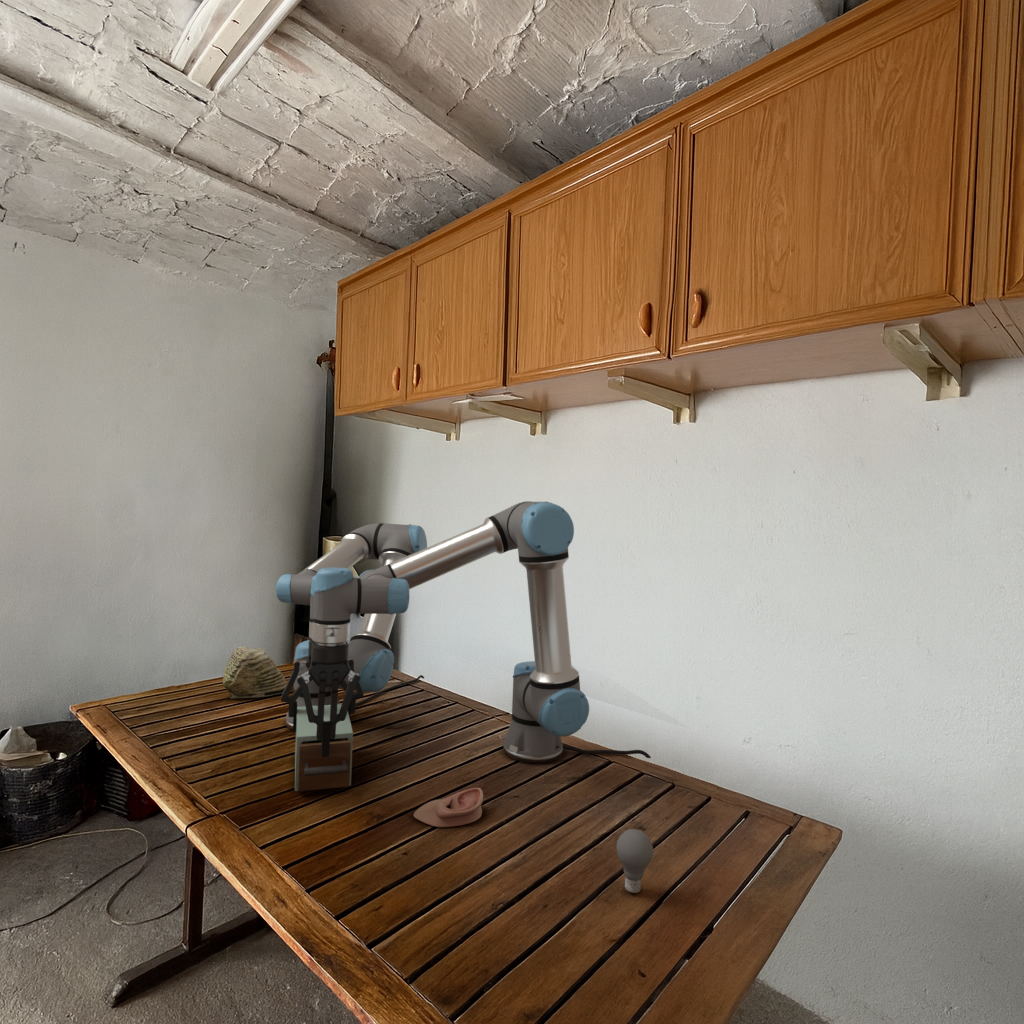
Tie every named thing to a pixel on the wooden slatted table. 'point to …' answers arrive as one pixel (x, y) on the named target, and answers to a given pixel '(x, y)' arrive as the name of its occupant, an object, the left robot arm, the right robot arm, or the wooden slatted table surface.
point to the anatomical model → (452, 809)
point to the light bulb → (634, 857)
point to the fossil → (252, 674)
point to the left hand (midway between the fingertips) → (321, 728)
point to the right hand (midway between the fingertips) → (325, 754)
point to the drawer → (324, 765)
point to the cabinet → (309, 730)
